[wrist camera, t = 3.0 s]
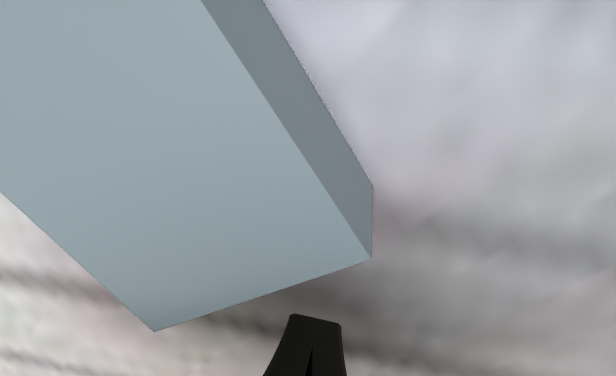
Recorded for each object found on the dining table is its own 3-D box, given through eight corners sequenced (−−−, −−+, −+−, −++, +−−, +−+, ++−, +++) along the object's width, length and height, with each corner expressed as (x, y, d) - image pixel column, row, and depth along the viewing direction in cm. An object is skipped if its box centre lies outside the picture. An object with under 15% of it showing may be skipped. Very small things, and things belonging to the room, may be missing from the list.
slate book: (372, 178, 10) (371, 259, 7) (199, 251, 12) (154, 332, 10) (164, -176, 7) (39, -244, 4) (-15, 13, 9) (-165, 41, 7)
